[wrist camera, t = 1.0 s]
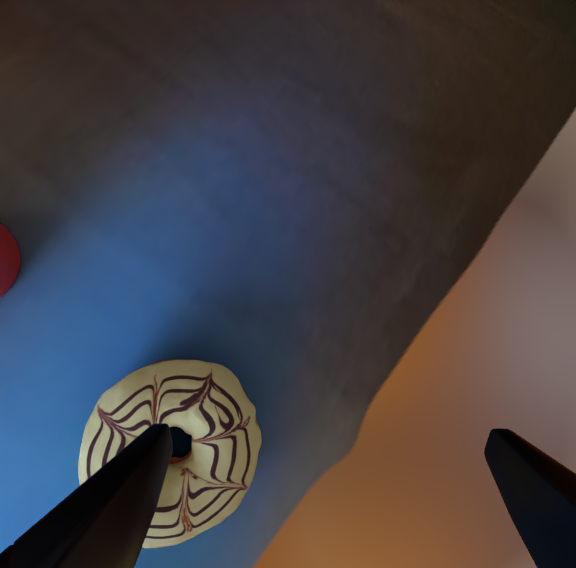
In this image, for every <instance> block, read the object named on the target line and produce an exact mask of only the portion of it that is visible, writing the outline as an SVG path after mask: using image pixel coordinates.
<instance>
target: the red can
mask: <svg viewBox="0 0 576 568" xmlns="http://www.w3.org/2000/svg"><path fill="white" fill-rule="evenodd" d="M19 268H20V251H19V247H18V245H17V242H16V240H15V238H14V237H13V235H12V234H11V232H10V231H9V230H8V229H7V228H6V227H5V226H4V225H3V224H1V223H0V298H1V297H2V296H3V295H4V294H5V293H6V292H7V291H8V290H9V289H10V287H11V286H12V284H13V283H14V281H15V279H16V277H17V275H18V272H19Z"/></svg>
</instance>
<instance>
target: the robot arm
mask: <svg viewBox="0 0 576 568" xmlns="http://www.w3.org/2000/svg"><path fill="white" fill-rule="evenodd" d="M172 451H173V443H172V438H171V433H170V428H169V425H168V424H166V423H155V424H152V425H151V426H149V427H148V428H147V429H146V430H145V431H144V432H142V433H141V434H140V435H139V436H138V437H137V438H135V439H134V440H133V441H132V442H131V443H129V444H128V445H127V446H126V447H125V448H124V449H122V450H121V451H120V452H119V453H118V454H117V455H115V456H114V457H113V458H112V459H111V460H110V461H108V462H107V463H106V464H105V465H104V466H103V467H101V468H100V469H99V470H98V471H97V472H95V473H94V474H93V475H92V476H91V477H90V478H88V479H87V480H86V481H85V482H84V483H83V484H81V485H80V486H79V487H78V488H77V489H76V490H74V491H73V492H72V493H71V494H70V495H69V496H67V497H66V498H65V499H64V500H63V501H62V502H60V503H59V504H58V505H57V506H56V507H54V508H53V509H52V510H51V511H50V512H49V513H47V514H46V515H45V516H44V517H43V518H42V519H40V520H39V521H38V522H37V523H36V524H35V525H33V526H32V527H31V528H30V529H29V530H28V531H26V532H25V533H24V534H23V535H22V536H20V537H19V538H18V539H17V540H16V541H15V542H14V544H13V545H10V546H9V547H7V548H6V549H5V550H4V551H3V552H2V553H0V568H134V566H135V564H136V561H137V558H138V556H139V553H140V551H141V548H142V546H143V543H144V540H145V538H146V535H147V533H148V530H149V528H150V525H151V522H152V519H153V517H154V514H155V511H156V507H157V504H158V501H159V497H160V494H161V490H162V487H163V483H164V480H165V476H166V473H167V469H168V466H169V462H170V459H171V455H172ZM484 453H485V458H486V461H487V463H488V466H489V468H490V470H491V473H492V475H493V477H494V480H495V482H496V484H497V486H498V489H499V491H500V493H501V496H502V498H503V500H504V503H505V505H506V507H507V510H508V512H509V514H510V516H511V518H512V521H513V523H514V525H515V526H516V528H517V530H518V532H519V534H520V536H521V538H522V540H523V542H524V544H525V545H526V547H527V549H528V551H529V553H530V555H531V557H532V559H533V560H534V562H535V564H536V566H537V568H576V474H575V473H574V472H572V471H571V470H569V469H568V468H566V467H565V466H563V465H562V464H560V463H559V462H557V461H556V460H554V459H553V458H551V457H550V456H548V455H547V454H545V453H544V452H542V451H541V450H540V449H538V448H537V447H535V446H533V445H532V444H531V443H529V442H527V441H526V440H525V439H523V438H522V437H520V436H519V435H517V434H516V433H514V432H513V431H511V430H509V429H492V430H491V432H490V434H489V437H488V440H487V443H486V446H485V452H484Z"/></svg>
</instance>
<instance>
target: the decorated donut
mask: <svg viewBox="0 0 576 568" xmlns="http://www.w3.org/2000/svg"><path fill="white" fill-rule="evenodd" d="M155 423H166V424H168V425H169V428H170V427H179V428H181V429H183V430H184V431H185V433H187V434H190V435H192V450H190V452H189V453H188V454H187V455H185V457H181V458H176V457H171V459H170V462H169V466H168V469H167V473H166V476H165V480H164V483H163V487H162V490H161V494H160V497H159V501H158V504H157V507H156V511H155V514H154V517H153V519H152V522H151V525H150V528H149V530H148V533H147V535H146V538H145V540H144V543H143V546H142V547H144V548H159V547H166V546H171V545H177V544H180V543H182V542H184V541H186V540H188V539H190V538H193V537H195V536H196V535H198V534H200V533H202V532H204V531H206V530H208V529H209V528H212V527H214V526H215V525H217V524H219V523H220V522H222V521H223V520H224V519H225V518H227V517H228V516H229V515H230V514H232V513H233V512H234V511H235V510H236V509H237V507H238V506H239V504H240V502H241V501H242V499H243V497H244V496H245V493H246V492H247V491H248V489H249V487H250V484H251V482H252V479H253V477H254V473H255V469H256V465H257V458H258V452H259V449H260V446H261V443H262V438H261V430H260V428H259V425H258V422H257V420H256V409H255V406H254V405H253V404H252V403H251V401H250V400H249V399H248V398H247V396H246V394H245V392H244V390H243V388H242V387H241V384H240V382H239V380H238V378H237V377H236V376H235V375H234V374H233V372H232V371H230V370H229V369H228V368H226V367H224V366H222V365H220V364H216V363H208V362H203V361H200V360H185V359H180V360H178V359H177V360H174V359H173V360H172V359H171V360H163V361H158V362H156V363H154V364H150V365H147V366H145V367H143V368H140V369H138V370H136V371H134V372H132V373H130V374H129V375H127V376H126V377H124V378H123V379H122V380H120V381H119V382H118V383H117V384H115V385H113V386H112V387H111V388H110V389H108V390H107V391H105V392H104V393H103V394H102V395H101V397H100V398H99V400H98V402H97V404H96V406H95V408H94V410H93V412H92V414H91V415H90V417H89V420H88V422H87V424H86V427H85V430H84V434H83V441H82V444H81V448H80V457H79V461H78V471H79V483H80V485H81V484H83V483H84V482H85V481H86V480H87V479H88V478H90V477H91V476H92V475H93V474H94V473H95V472H97V471H98V470H99V469H100V468H101V467H103V466H104V465H105V464H106V463H107V462H108V461H110V460H111V459H112V458H113V457H114V456H115V455H117V454H118V453H119V452H120V451H121V450H122V449H124V448H125V447H126V446H127V445H128V444H129V443H131V442H132V441H133V440H134V439H135V438H137V437H138V436H139V435H140V434H141V433H142V432H144V431H145V430H146V429H147V428H148V427H149V426H151V425H152V424H155Z"/></svg>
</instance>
